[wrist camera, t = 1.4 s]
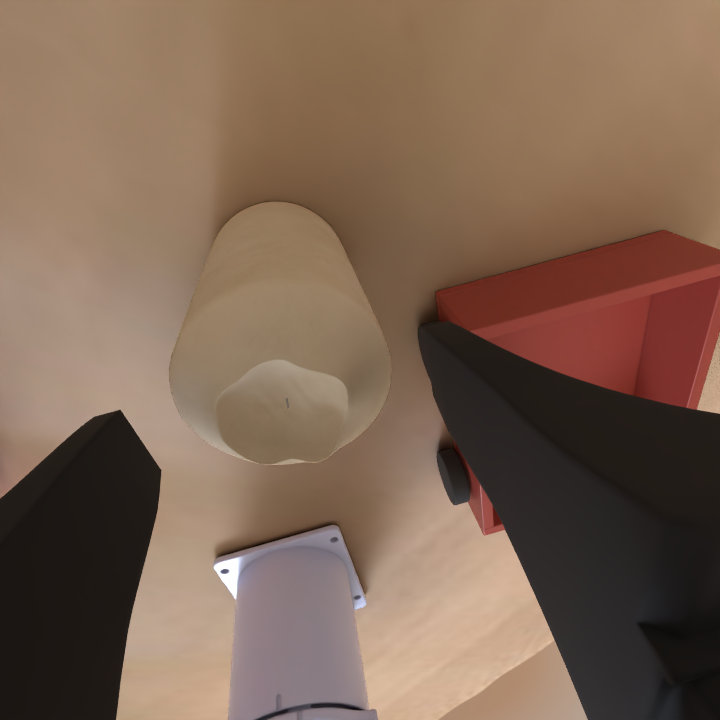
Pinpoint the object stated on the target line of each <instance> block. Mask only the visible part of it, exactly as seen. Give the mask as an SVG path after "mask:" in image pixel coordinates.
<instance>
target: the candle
mask: <svg viewBox="0 0 720 720" xmlns="http://www.w3.org/2000/svg"><path fill="white" fill-rule="evenodd" d="M391 378H392V362H391V355H390V351H389V348H388V345H387V342H386V339H385V337H384V335H383V333H382V330H381V328H380V326H379V324H378V322H377V319H376V317H375V315H374V313H373V311H372V309H371V306H370V304H369V302H368V300H367V298H366V295H365V293H364V291H363V289H362V287H361V285H360V282H359V280H358V278H357V276H356V274H355V272H354V269H353V267H352V265H351V263H350V261H349V258H348V256H347V254H346V252H345V250H344V248H343V246H342V244H341V242H340V240H339V238H338V236H337V235H336V233H335V232H334V230H333V229H332V228H331V227H330V226H329V225H328V223H327V222H325V221H324V220H323V219H322V218H321V217H320V216H318V215H317V214H315V213H314V212H312V211H310V210H308V209H306V208H304V207H302V206H299V205H296V204H292V203H287V202H265V203H260V204H256V205H253V206H251V207H248V208H246V209H244V210H242V211H241V212H239V213H237V214H236V215H235V216H233V217H232V218H231V219H230V220H229V221H228V222H227V223H226V224H225V225H224V226H223V228H222V229H221V230H220V232H219V233H218V235H217V237H216V239H215V241H214V243H213V245H212V248H211V251H210V253H209V256H208V259H207V261H206V264H205V267H204V269H203V272H202V274H201V277H200V280H199V282H198V285H197V288H196V290H195V293H194V296H193V298H192V301H191V304H190V306H189V309H188V312H187V314H186V317H185V320H184V322H183V325H182V328H181V330H180V333H179V336H178V338H177V341H176V344H175V347H174V349H173V352H172V355H171V361H170V367H169V382H170V388H171V394H172V396H173V399H174V402H175V405H176V407H177V409H178V411H179V413H180V415H181V416H182V418H183V419H184V420H185V422H186V423H187V424H188V426H189V427H190V428H191V429H192V430H193V431H194V432H195V433H196V434H197V435H198V436H199V437H201V438H202V439H203V440H204V441H206V442H207V443H209V444H210V445H212V446H213V447H215V448H217V449H219V450H221V451H223V452H225V453H227V454H229V455H232V456H235V457H238V458H240V459H243V460H247V461H251V462H253V463H256V464H260V465H285V464H296V463H303V462H308V463H318V462H321V461H324V460H326V459H327V458H329V457H330V456H331V455H332V454H333V453H334V452H336V451H337V450H338V449H340V448H342V447H343V446H345V445H347V444H348V443H350V442H351V441H353V440H354V439H355V438H357V437H358V436H359V435H360V434H362V433H363V432H364V431H365V430H366V429H367V428H368V427H369V426H370V424H371V423H372V422H373V421H374V420H375V418H376V417H377V415H378V414H379V412H380V411H381V409H382V407H383V405H384V403H385V401H386V399H387V396H388V393H389V389H390V385H391Z"/></svg>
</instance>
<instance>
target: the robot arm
mask: <svg viewBox="0 0 720 720" xmlns="http://www.w3.org/2000/svg"><path fill="white" fill-rule="evenodd" d="M424 335H425V342H426V349H427V356H428V363H429V370H430V377H431V384H432V391H433V396H434V398H435V401H436V403H437V406H438V408H439V410H440V413H441V415H442V417H443V420H444V422H445V424H446V426H447V429H448V431H449V432H450V434H451V436H452V437H453V439H454V441H455V443H456V444H457V446H458V448H459V449H460V451H461V453H462V455H463V456H464V458H465V460H466V461H467V463H468V465H469V466H470V468H471V470H472V471H473V473H474V475H475V476H476V478H477V480H478V481H479V483H480V485H481V486H482V488H483V490H484V491H485V493H486V495H487V497H488V498H489V500H490V502H491V503H492V505H493V507H494V509H495V511H496V512H497V514H498V516H499V518H500V520H501V522H502V524H503V526H504V528H505V530H506V532H507V535H508V537H509V539H510V541H511V543H512V545H513V547H514V550H515V552H516V554H517V556H518V558H519V560H520V562H521V565H522V567H523V569H524V571H525V574H526V576H527V578H528V580H529V583H530V585H531V587H532V589H533V591H534V594H535V596H536V598H537V600H538V603H539V605H540V607H541V609H542V612H543V614H544V616H545V619H546V621H547V623H548V626H549V628H550V630H551V633H552V635H553V637H554V639H555V642H556V644H557V646H558V649H559V651H560V653H561V656H562V658H563V660H564V662H565V665H566V668H567V670H568V672H569V675H570V677H571V680H572V682H573V685H574V687H575V689H576V692H577V694H578V697H579V699H580V701H581V704H582V706H583V709H584V711H585V714H586V716H587V718H588V720H720V414H717V413H711V412H706V411H700V410H695V409H690V408H685V407H680V406H675V405H670V404H666V403H662V402H658V401H654V400H650V399H645V398H641V397H637V396H633V395H629V394H625V393H622V392H618V391H614V390H611V389H607V388H604V387H601V386H598V385H595V384H592V383H589V382H585V381H582V380H579V379H576V378H573V377H570V376H567V375H565V374H562V373H559V372H557V371H554V370H552V369H549V368H547V367H544V366H542V365H539V364H537V363H534V362H532V361H530V360H527V359H525V358H523V357H521V356H518V355H516V354H514V353H512V352H510V351H508V350H505V349H503V348H501V347H499V346H497V345H495V344H493V343H491V342H489V341H487V340H485V339H483V338H481V337H479V336H478V335H476V334H474V333H472V332H470V331H468V330H466V329H464V328H462V327H460V326H458V325H456V324H454V323H452V322H450V321H446V322H442V323H439V324H435V325H431V326H428V327H424ZM160 481H161V469H160V468H159V466H158V465H157V463H156V462H155V460H154V459H153V457H152V456H151V454H150V453H149V451H148V450H147V449H146V447H145V446H144V444H143V443H142V441H141V440H140V438H139V437H138V435H137V434H136V432H135V431H134V429H133V428H132V426H131V425H130V423H129V422H128V420H127V419H126V417H125V416H124V414H123V413H122V411H121V410H118V411H114V412H110V413H107V414H103V415H99V416H96V417H93V418H92V419H91V420H89V421H88V422H87V423H85V424H84V425H83V426H81V427H80V428H79V429H78V430H77V431H75V432H74V433H73V434H72V435H71V436H70V437H68V438H67V439H66V440H65V441H64V442H63V443H62V444H61V445H59V446H58V447H57V448H56V449H55V450H54V451H53V452H52V453H51V454H50V455H48V456H47V457H46V458H45V459H44V460H43V461H42V462H41V463H40V464H39V465H37V466H36V467H35V468H34V469H33V470H32V471H31V472H30V473H29V474H28V475H26V476H25V477H24V478H23V479H22V480H21V481H20V482H19V483H18V484H17V485H16V486H14V487H13V488H12V489H11V490H10V491H9V492H8V493H6V494H5V495H4V496H3V497H2V498H1V499H0V720H116V715H117V707H118V698H119V689H120V681H121V674H122V667H123V660H124V654H125V647H126V640H127V634H128V628H129V623H130V619H131V614H132V609H133V605H134V601H135V597H136V593H137V589H138V586H139V582H140V578H141V574H142V570H143V566H144V562H145V559H146V555H147V551H148V547H149V543H150V539H151V535H152V531H153V527H154V523H155V519H156V514H157V510H158V502H159V493H160ZM213 567H214V569H215V571H216V572H217V573H218V575H219V576H220V578H221V579H222V581H223V582H224V583H225V585H226V586H227V588H228V589H229V591H230V592H231V593H232V595H233V596H234V598H235V599H236V606H235V620H234V635H233V649H232V664H231V678H230V693H229V707H228V720H378V717H377V712H376V710H375V709H372V710H369V703H368V695H367V688H366V682H365V676H364V670H363V663H362V657H361V651H360V644H359V638H358V632H357V626H356V619H355V613H354V610H355V609H359V608H362V607H364V606H365V605H366V604H367V601H366V597H365V594H364V592H363V589H362V586H361V584H360V581H359V579H358V576H357V573H356V571H355V568H354V565H353V563H352V560H351V558H350V555H349V552H348V550H347V547H346V544H345V542H344V539H343V537H342V534H341V531H340V529H339V527H338V526H336V525H330V526H326V527H322V528H319V529H315V530H312V531H308V532H305V533H301V534H298V535H294V536H291V537H287V538H284V539H280V540H277V541H273V542H270V543H266V544H263V545H259V546H256V547H252V548H249V549H245V550H242V551H238V552H235V553H231V554H228V555H224V556H221V557H218V558H216V559H215V560H214V565H213Z"/></svg>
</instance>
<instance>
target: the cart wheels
mask: <svg viewBox="0 0 720 720" xmlns="http://www.w3.org/2000/svg"><path fill="white" fill-rule="evenodd" d="M439 323H441V322H440V321H434V322H431V323H427V324H423V325H420V326H419V328H418V339H419V345H420V350H421V354H422V358H423V362H424V365H425V368H426V371H427V373H428V376H429V378H430V380H431V377H430V370H429V363H428V356H427V349H426V342H425V335H424V327H428V326H431V325H435V324H439ZM437 462H438V467H439V471H440V475H441V478H442V481H443V484H444V487H445V490H446V492H447V494H448V497H449V499H450V501H451V502H452V503H453V505H458V504H461V503H465V502H468V501H469V500H470V490H469V485H468V481H467V478H466V474H465V471H464V469H463V466H462V464H461V461H460V459H459V457H458V455H457V453H456V452H455V451H454V450H453V449H447V450H444V451H440V452H438V453H437Z"/></svg>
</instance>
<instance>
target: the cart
mask: <svg viewBox="0 0 720 720" xmlns="http://www.w3.org/2000/svg"><path fill="white" fill-rule="evenodd" d="M436 302H437V310H438V318H439V321H440V322H441V323H442V322H446V321H450V322H452V323H454V324H456V325H458V326H460V327H462V328H464V329H466V330H468V331H470V332H472V333H474V334H476V335H478V336H479V337H481V338H483V339H485V340H487V341H489V342H491V343H493V344H495V345H497V346H499V347H501V348H503V349H505V350H508V351H510V352H512V353H514V354H516V355H518V356H521V357H523V358H525V359H527V360H530V361H532V362H534V363H537V364H539V365H542V366H544V367H547V368H549V369H552V370H554V371H557V372H559V373H562V374H565V375H567V376H570V377H573V378H576V379H579V380H582V381H585V382H589V383H592V384H595V385H598V386H601V387H604V388H607V389H611V390H614V391H618V392H622V393H625V394H629V395H633V396H637V397H641V398H645V399H650V400H654V401H658V402H662V403H666V404H670V405H675V406H680V407H685V408H690V409H695V410H697V407H698V403H699V400H700V397H701V393H702V390H703V386H704V383H705V380H706V376H707V373H708V369H709V366H710V363H711V359H712V356H713V352H714V349H715V346H716V342H717V339H718V336H719V332H720V250H719V249H716V248H713V247H710V246H708V245H705V244H702V243H699V242H696V241H694V240H691V239H688V238H685V237H682V236H680V235H677V234H673V233H671V232H668V231H666V230H663V231H659V232H656V233H652V234H648V235H645V236H641V237H637V238H633V239H630V240H626V241H622V242H619V243H615V244H611V245H607V246H604V247H600V248H596V249H593V250H589V251H585V252H581V253H578V254H574V255H570V256H566V257H563V258H559V259H555V260H552V261H548V262H544V263H540V264H537V265H533V266H529V267H526V268H522V269H518V270H514V271H511V272H507V273H503V274H500V275H496V276H492V277H488V278H485V279H481V280H477V281H474V282H470V283H466V284H462V285H459V286H455V287H451V288H448V289H444V290H440V291H436ZM453 443H454V451H455V452H456V453H457V455H458V457H459V459H460V461H461V464H462V466H463V469H464V471H465V474H466V478H467V481H468V485H469V490H470V500H469V501H468V503H469V505H470V507H471V510H472V512H473V514H474V516H475V518H476V520H477V522H478V524H479V526H480V528H481V530H482V533H483V535H488V534H492V533H495V532H499V531H502V530H505V528H504V526H503V524H502V522H501V520H500V518H499V516H498V514H497V512H496V511H495V509H494V507H493V505H492V503H491V502H490V500H489V498H488V497H487V495H486V493H485V491H484V490H483V488H482V486H481V485H480V483H479V481H478V480H477V478H476V476H475V475H474V473H473V471H472V470H471V468H470V466H469V465H468V463H467V461H466V460H465V458H464V456H463V455H462V453H461V451H460V449H459V448H458V446H457V444H456V443H455V441H454V439H453Z"/></svg>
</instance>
